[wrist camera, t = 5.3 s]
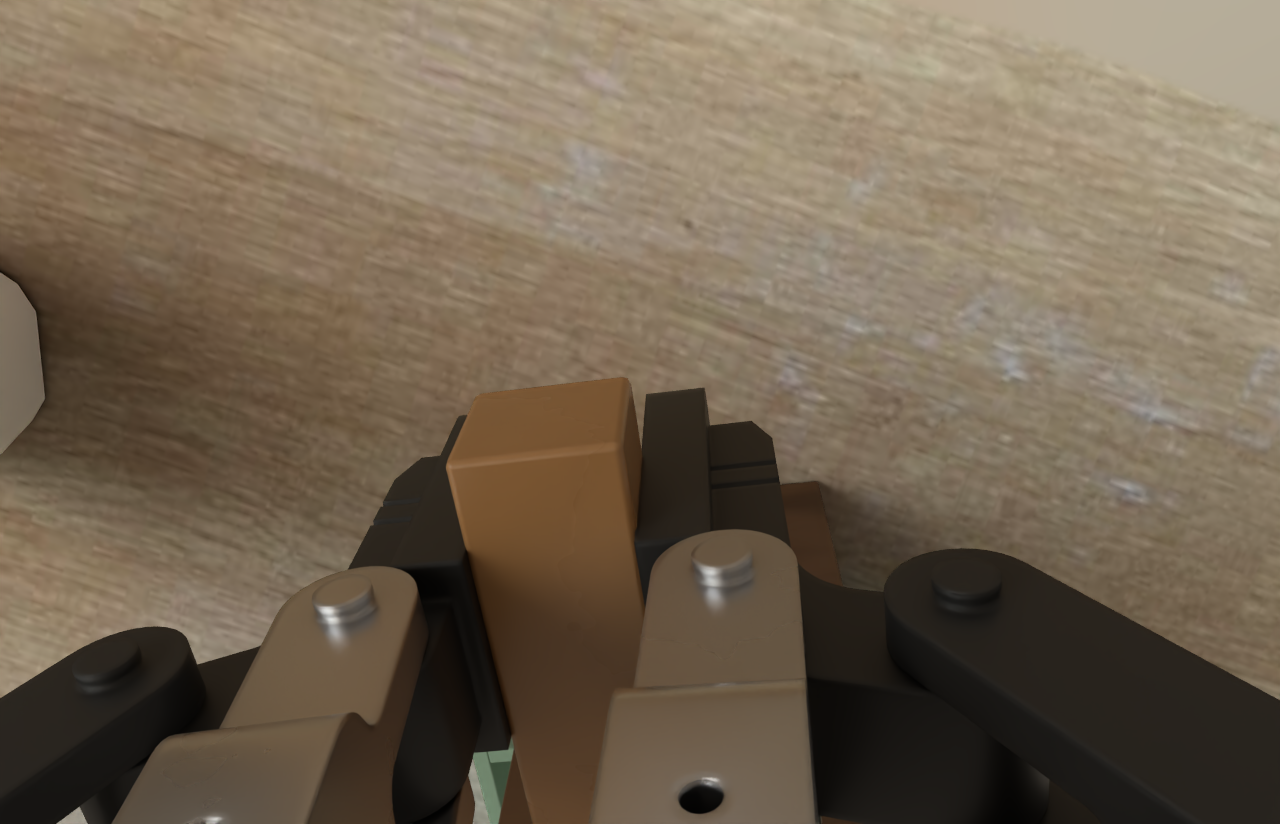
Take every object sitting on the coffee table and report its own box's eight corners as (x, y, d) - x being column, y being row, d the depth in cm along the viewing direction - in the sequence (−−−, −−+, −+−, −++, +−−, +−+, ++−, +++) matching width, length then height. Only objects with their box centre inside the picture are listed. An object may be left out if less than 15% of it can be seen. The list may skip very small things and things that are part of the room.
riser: (817, 480, 33) (949, 1024, 16) (826, 588, 34) (954, 1181, 18) (562, 506, 34) (448, 1053, 17) (583, 611, 35) (496, 1201, 19)
